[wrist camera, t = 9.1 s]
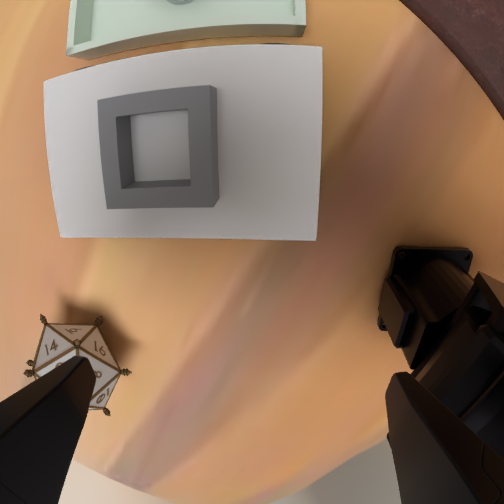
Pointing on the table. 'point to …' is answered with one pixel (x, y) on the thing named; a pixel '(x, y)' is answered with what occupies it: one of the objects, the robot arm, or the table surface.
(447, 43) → the notebook
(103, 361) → the game die
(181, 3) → the pin
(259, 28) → the tray
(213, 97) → the white socket plate
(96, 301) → the table surface
